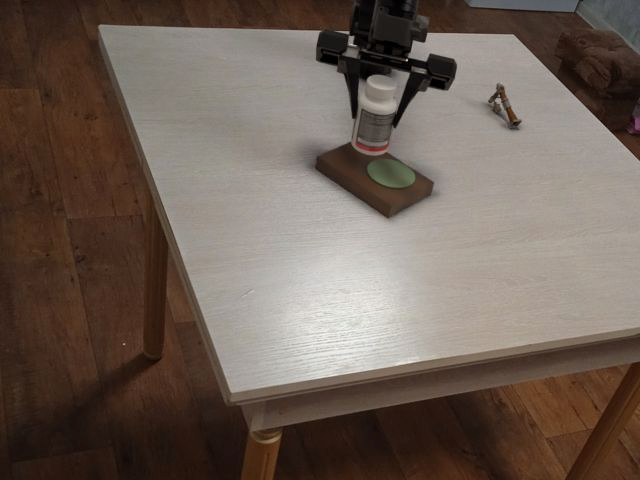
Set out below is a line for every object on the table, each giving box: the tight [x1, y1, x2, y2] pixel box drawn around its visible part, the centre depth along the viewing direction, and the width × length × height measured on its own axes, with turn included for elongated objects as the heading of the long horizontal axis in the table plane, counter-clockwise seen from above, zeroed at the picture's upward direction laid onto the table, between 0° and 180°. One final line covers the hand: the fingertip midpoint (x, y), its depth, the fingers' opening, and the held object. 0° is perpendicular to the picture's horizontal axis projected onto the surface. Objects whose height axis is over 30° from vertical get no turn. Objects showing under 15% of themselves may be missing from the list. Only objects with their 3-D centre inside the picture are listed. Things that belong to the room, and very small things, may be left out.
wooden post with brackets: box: [487, 82, 523, 129], centre depth 140 cm, size 2×8×4 cm, turn 30°
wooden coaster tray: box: [314, 141, 435, 218], centre depth 118 cm, size 10×14×2 cm
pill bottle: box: [350, 75, 399, 156], centre depth 112 cm, size 5×5×10 cm
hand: (373, 122), depth 111 cm, fingers closed on pill bottle, 5 cm apart
